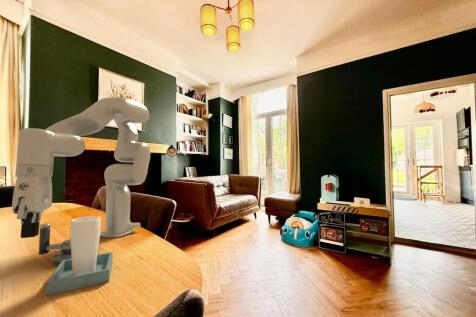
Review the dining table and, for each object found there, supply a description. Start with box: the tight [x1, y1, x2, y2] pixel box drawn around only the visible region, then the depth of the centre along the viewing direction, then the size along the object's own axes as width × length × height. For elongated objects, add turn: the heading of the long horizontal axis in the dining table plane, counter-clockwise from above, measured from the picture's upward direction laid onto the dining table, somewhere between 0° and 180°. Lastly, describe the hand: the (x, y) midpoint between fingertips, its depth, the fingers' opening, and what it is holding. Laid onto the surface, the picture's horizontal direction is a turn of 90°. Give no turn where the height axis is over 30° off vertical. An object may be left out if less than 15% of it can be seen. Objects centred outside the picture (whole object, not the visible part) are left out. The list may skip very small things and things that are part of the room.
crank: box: [38, 222, 71, 256], centre depth 65 cm, size 11×5×9 cm, turn 112°
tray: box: [45, 251, 114, 297], centre depth 55 cm, size 12×12×3 cm
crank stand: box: [51, 249, 72, 267], centre depth 68 cm, size 16×9×3 cm, turn 38°
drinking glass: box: [69, 215, 102, 276], centre depth 55 cm, size 7×7×15 cm
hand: (29, 236), depth 56 cm, fingers closed
